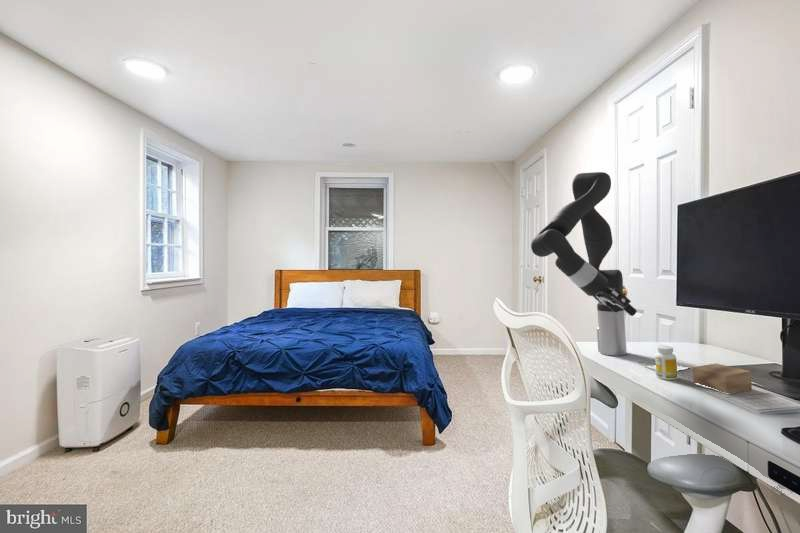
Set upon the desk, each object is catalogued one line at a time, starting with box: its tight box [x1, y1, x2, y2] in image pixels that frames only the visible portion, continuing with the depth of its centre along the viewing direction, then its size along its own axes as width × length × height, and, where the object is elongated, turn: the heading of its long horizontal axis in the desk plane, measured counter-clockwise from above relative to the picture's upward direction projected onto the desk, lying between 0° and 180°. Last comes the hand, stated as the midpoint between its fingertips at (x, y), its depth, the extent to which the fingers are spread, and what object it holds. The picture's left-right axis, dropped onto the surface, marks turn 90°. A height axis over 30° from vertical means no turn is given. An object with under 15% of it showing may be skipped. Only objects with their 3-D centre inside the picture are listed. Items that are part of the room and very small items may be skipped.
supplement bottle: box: [654, 345, 678, 381], centre depth 115 cm, size 5×5×10 cm
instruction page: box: [645, 365, 656, 371], centre depth 124 cm, size 8×10×1 cm
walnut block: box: [692, 362, 753, 394], centre depth 105 cm, size 9×9×5 cm
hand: (625, 312), depth 115 cm, fingers open, 8 cm apart
